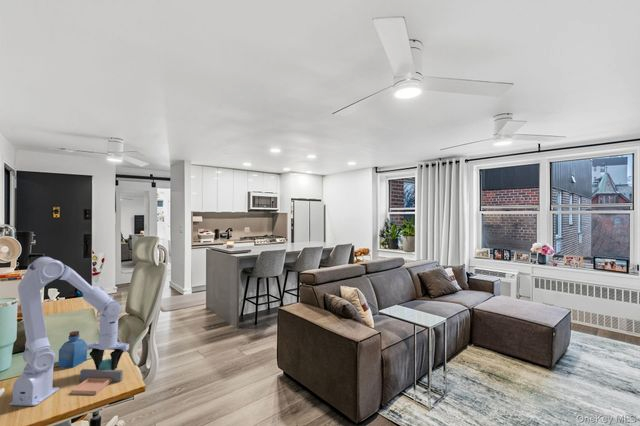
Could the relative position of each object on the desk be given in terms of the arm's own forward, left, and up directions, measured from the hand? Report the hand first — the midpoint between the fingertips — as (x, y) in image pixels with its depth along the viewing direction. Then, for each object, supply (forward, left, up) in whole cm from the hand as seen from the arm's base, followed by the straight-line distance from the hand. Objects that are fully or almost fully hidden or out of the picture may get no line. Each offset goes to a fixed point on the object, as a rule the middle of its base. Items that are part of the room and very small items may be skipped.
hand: (106, 369), depth 118 cm
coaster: (-10, -1, -1) cm, 10 cm away
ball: (0, 0, -1) cm, 1 cm away
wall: (-5, -1, -1) cm, 6 cm away
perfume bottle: (+6, +17, -2) cm, 18 cm away
